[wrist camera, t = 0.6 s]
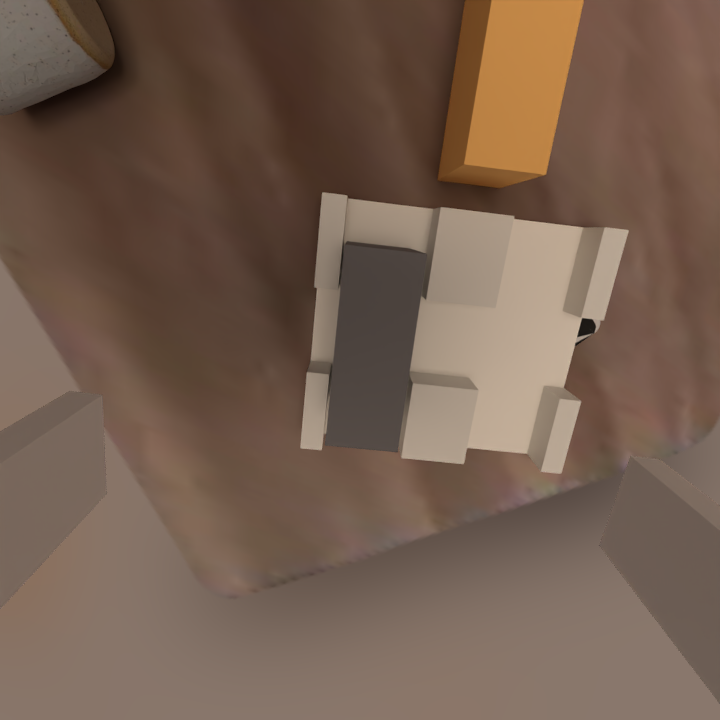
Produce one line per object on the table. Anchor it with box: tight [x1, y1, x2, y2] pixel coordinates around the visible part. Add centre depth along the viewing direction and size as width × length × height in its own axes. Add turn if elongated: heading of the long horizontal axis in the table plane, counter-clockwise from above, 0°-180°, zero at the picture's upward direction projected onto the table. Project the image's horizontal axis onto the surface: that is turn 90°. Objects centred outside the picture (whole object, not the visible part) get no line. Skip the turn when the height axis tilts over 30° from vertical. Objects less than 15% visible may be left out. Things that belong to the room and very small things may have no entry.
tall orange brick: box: [438, 0, 584, 188], centre depth 26 cm, size 12×4×8 cm, turn 173°
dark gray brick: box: [325, 241, 427, 452], centre depth 29 cm, size 12×4×8 cm, turn 174°
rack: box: [300, 192, 629, 474], centre depth 32 cm, size 18×20×4 cm
